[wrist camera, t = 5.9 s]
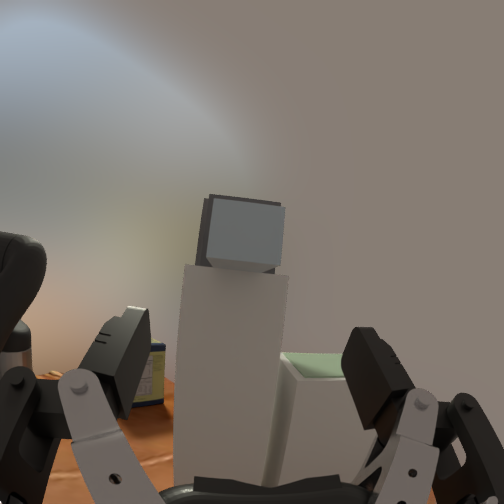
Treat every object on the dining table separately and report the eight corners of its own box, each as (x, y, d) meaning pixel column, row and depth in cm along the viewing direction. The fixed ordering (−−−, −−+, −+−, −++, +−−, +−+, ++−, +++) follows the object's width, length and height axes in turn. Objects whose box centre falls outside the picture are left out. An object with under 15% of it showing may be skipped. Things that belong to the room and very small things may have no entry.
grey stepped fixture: (348, 514, 23) (405, 207, 28) (175, 519, 21) (198, 173, 26) (321, 470, 36) (357, 229, 41) (185, 467, 34) (206, 209, 39)
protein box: (135, 382, 68) (137, 330, 71) (164, 403, 58) (167, 344, 60) (102, 384, 61) (102, 328, 63) (127, 409, 51) (127, 345, 53)
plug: (299, 267, 17) (306, 164, 18) (185, 254, 16) (202, 150, 17) (260, 277, 36) (266, 225, 37) (207, 271, 35) (213, 218, 36)
